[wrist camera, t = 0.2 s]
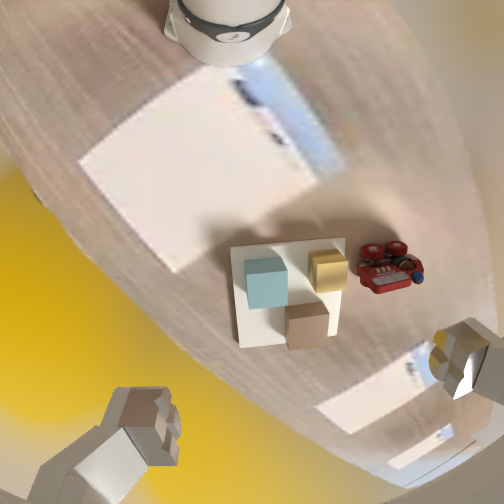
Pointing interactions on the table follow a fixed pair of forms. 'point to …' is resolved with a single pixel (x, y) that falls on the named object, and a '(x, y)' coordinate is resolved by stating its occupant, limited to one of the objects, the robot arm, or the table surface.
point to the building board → (299, 298)
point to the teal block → (266, 283)
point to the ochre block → (327, 270)
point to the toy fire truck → (389, 268)
